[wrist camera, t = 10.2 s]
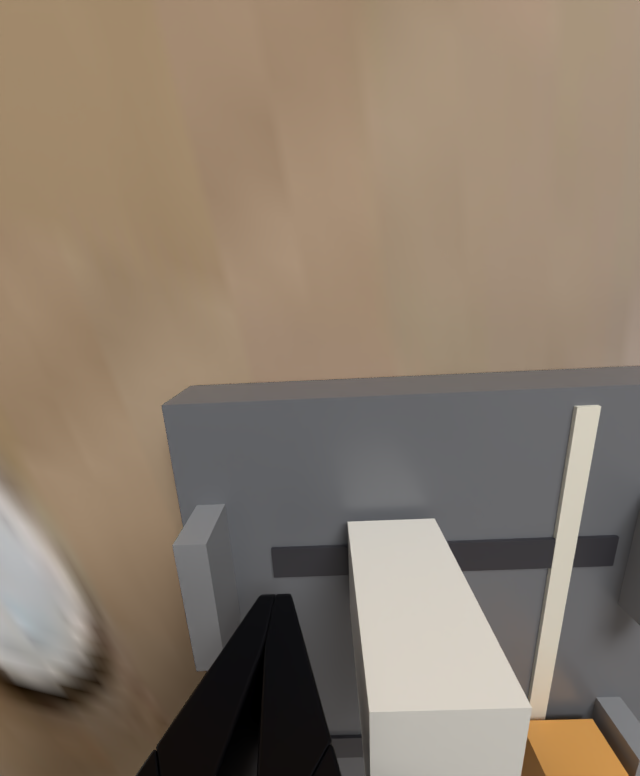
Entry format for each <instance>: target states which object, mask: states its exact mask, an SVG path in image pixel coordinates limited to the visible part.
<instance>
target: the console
mask: <svg viewBox="0 0 640 776" xmlns="http://www.w3.org/2000/svg"><path fill="white" fill-rule="evenodd" d="M162 411H163V417H164V422H165V428H166V433H167V439H168V445H169V450H170V456H171V461H172V467H173V473H174V478H175V484H176V490H177V495H178V501H179V506H180V512H181V518H182V523H183V529H182V531H181V532H180V534H179V536H178V537H177V539H176V540H175V542H174V544H173V545H172V546H173V551H174V556H175V561H176V567H177V572H178V577H179V582H180V587H181V593H182V598H183V603H184V608H185V614H186V619H187V624H188V629H189V635H190V640H191V645H192V650H193V656H194V661H195V666H196V671H208V670H209V668H210V667H211V665H212V664H213V663H214V661H215V660H216V658H217V657H218V655H219V654H220V652H221V651H222V649H223V648H224V646H225V645H226V644H227V642H228V641H229V639H230V638H231V636H232V635H233V633H234V632H235V630H236V629H237V627H238V626H239V625H240V623H241V622H242V620H243V619H244V617H245V616H246V614H247V613H248V611H249V610H250V609H251V607H252V606H253V604H254V603H255V601H256V600H257V598H258V597H259V596H260V595H262V594H275V595H276V594H287V593H289V594H291V595H292V598H293V602H294V605H295V609H296V612H297V616H298V620H299V623H300V627H301V631H302V634H303V638H304V642H305V645H306V649H307V652H308V656H309V660H310V663H311V667H312V671H313V674H314V678H315V682H316V685H317V689H318V692H319V696H320V700H321V703H322V707H323V711H324V714H325V718H326V721H327V725H328V729H329V732H330V736H331V740H332V746H333V747H334V750H335V753H336V757H337V761H338V764H339V768H340V772H341V775H342V776H365V766H364V756H363V745H362V734H361V723H360V712H359V701H358V690H357V679H356V668H355V657H354V646H353V635H352V624H351V613H350V591H349V557H348V523H347V522H351V521H378V520H405V519H432V518H435V520H436V522H437V524H438V526H439V528H440V530H441V532H442V534H443V536H444V538H445V540H446V541H447V543H448V545H449V547H450V549H451V551H452V553H453V555H454V557H455V559H456V561H457V563H458V565H459V567H460V569H461V571H462V573H463V575H464V577H465V578H466V580H467V582H468V584H469V586H470V588H471V590H472V592H473V594H474V596H475V598H476V600H477V602H478V604H479V606H480V608H481V610H482V612H483V613H484V615H485V617H486V619H487V621H488V623H489V625H490V627H491V629H492V631H493V633H494V635H495V637H496V639H497V641H498V643H499V645H500V647H501V649H502V650H503V652H504V654H505V656H506V658H507V660H508V662H509V664H510V666H511V668H512V670H513V672H514V674H515V676H516V678H517V680H518V682H519V684H520V685H521V687H522V689H523V691H524V693H525V695H526V697H527V699H528V701H529V703H530V705H531V707H532V711H531V717H530V721H531V720H569V719H593V721H594V722H595V724H596V725H597V727H598V728H599V730H600V731H601V733H602V734H603V736H604V738H605V739H606V741H607V742H608V744H609V745H610V747H611V748H612V750H613V752H614V753H615V755H616V756H617V758H618V759H619V761H620V762H621V764H622V766H623V767H624V769H625V770H626V772H627V773H628V775H629V776H640V366H628V367H605V368H582V369H560V370H537V371H515V372H492V373H469V374H447V375H424V376H402V377H379V378H356V379H334V380H311V381H289V382H266V383H243V384H221V385H198V386H190V387H188V388H187V389H185V390H184V391H182V392H181V393H179V394H178V395H176V396H175V397H173V398H172V399H170V400H169V401H167V402H166V403H164V404H163V405H162Z"/></svg>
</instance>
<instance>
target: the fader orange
mask: <svg viewBox="0 0 640 776" xmlns="http://www.w3.org/2000/svg"><path fill="white" fill-rule="evenodd" d="M521 776H629V775H628V773H627V772H626V770H625V769H624V767H623V766H622V764H621V762H620V761H619V759H618V758H617V756H616V755H615V753H614V752H613V750H612V748H611V747H610V745H609V744H608V742H607V741H606V739H605V738H604V736H603V734H602V733H601V731H600V730H599V728H598V727H597V725H596V724H595V722H594V721H593V719H569V720H531V721H530V723H529V729H528V735H527V741H526V747H525V754H524V760H523V766H522V772H521Z"/></svg>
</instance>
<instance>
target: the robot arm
mask: <svg viewBox="0 0 640 776" xmlns="http://www.w3.org/2000/svg"><path fill="white" fill-rule="evenodd" d="M156 749H157V751H156V750H153V751H152V753H151V754H150V756H149V757H148V759H147V760H146V761H145V763H144V764H143V766H142V767H141V769H140V770H139V772H138V773H137V775H136V776H342V775H341V772H340V768H339V764H338V761H337V757H336V753H335V750H334V747H333V746H332V740H331V736H330V732H329V729H328V725H327V721H326V718H325V714H324V711H323V707H322V703H321V700H320V696H319V692H318V689H317V685H316V682H315V678H314V674H313V671H312V667H311V663H310V660H309V656H308V652H307V649H306V645H305V642H304V638H303V634H302V631H301V627H300V623H299V620H298V616H297V612H296V609H295V605H294V602H293V598H292V595H291V594H289V593H287V594H276V595H275V594H262V595H260V596H259V597H258V598H257V600H256V601H255V603H254V604H253V606H252V607H251V609H250V610H249V611H248V613H247V614H246V616H245V617H244V619H243V620H242V622H241V623H240V625H239V626H238V627H237V629H236V630H235V632H234V633H233V635H232V636H231V638H230V639H229V641H228V642H227V644H226V645H225V646H224V648H223V649H222V651H221V652H220V654H219V655H218V657H217V658H216V660H215V661H214V663H213V664H212V665H211V667H210V668H209V670H208V671H207V673H206V674H205V676H204V677H203V679H202V680H201V682H200V683H199V684H198V686H197V687H196V689H195V690H194V692H193V693H192V695H191V696H190V698H189V699H188V700H187V702H186V703H185V705H184V706H183V708H182V709H181V711H180V712H179V714H178V715H177V717H176V718H175V719H174V721H173V722H172V724H171V725H170V727H169V728H168V730H167V731H166V733H165V734H164V736H163V737H162V738H161V740H160V741H159V743H158V744H157V747H156Z"/></svg>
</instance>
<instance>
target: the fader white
mask: <svg viewBox="0 0 640 776" xmlns="http://www.w3.org/2000/svg"><path fill="white" fill-rule="evenodd" d="M347 523H348V557H349V591H350V613H351V624H352V635H353V646H354V657H355V668H356V679H357V690H358V701H359V712H360V723H361V734H362V745H363V756H364V766H365V776H521V772H522V766H523V760H524V754H525V747H526V741H527V735H528V729H529V723H530V717H531V711H532V707H531V705H530V703H529V701H528V699H527V697H526V695H525V693H524V691H523V689H522V687H521V685H520V684H519V682H518V680H517V678H516V676H515V674H514V672H513V670H512V668H511V666H510V664H509V662H508V660H507V658H506V656H505V654H504V652H503V650H502V649H501V647H500V645H499V643H498V641H497V639H496V637H495V635H494V633H493V631H492V629H491V627H490V625H489V623H488V621H487V619H486V617H485V615H484V613H483V612H482V610H481V608H480V606H479V604H478V602H477V600H476V598H475V596H474V594H473V592H472V590H471V588H470V586H469V584H468V582H467V580H466V578H465V577H464V575H463V573H462V571H461V569H460V567H459V565H458V563H457V561H456V559H455V557H454V555H453V553H452V551H451V549H450V547H449V545H448V543H447V541H446V540H445V538H444V536H443V534H442V532H441V530H440V528H439V526H438V524H437V522H436V520H435V518H432V519H405V520H378V521H351V522H347Z"/></svg>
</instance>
